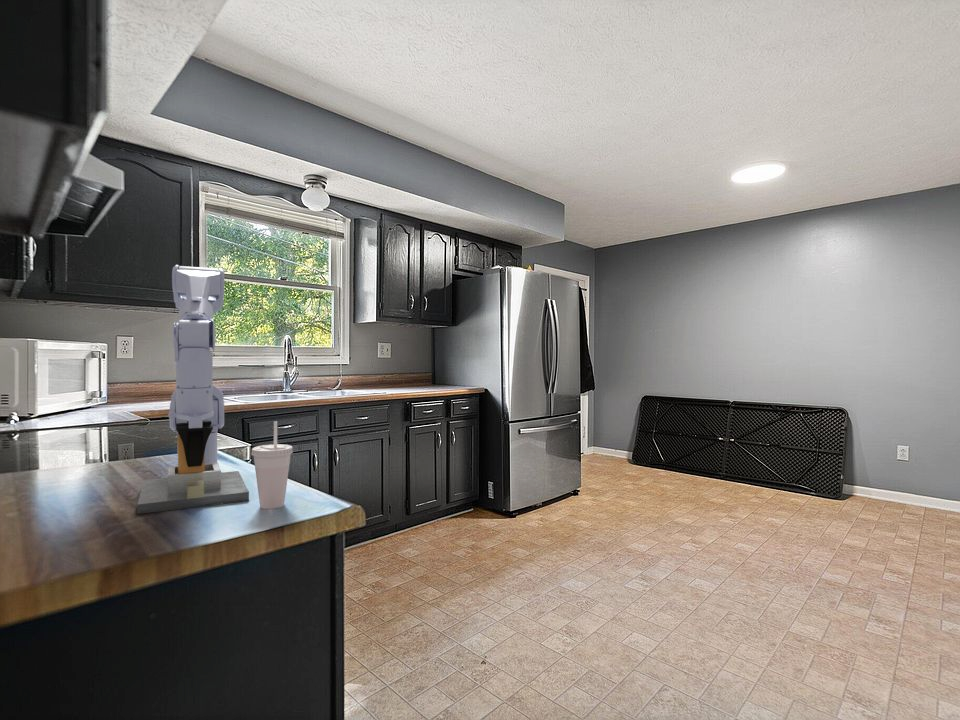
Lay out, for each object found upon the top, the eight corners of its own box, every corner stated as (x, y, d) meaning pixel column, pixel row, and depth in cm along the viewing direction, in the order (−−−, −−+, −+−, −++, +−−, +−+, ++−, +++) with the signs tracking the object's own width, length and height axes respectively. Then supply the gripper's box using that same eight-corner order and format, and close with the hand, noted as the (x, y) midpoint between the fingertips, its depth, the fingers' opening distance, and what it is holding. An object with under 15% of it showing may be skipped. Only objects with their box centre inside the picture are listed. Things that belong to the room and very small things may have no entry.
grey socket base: (143, 487, 98) (143, 463, 98) (238, 478, 106) (238, 456, 106) (137, 514, 82) (137, 485, 82) (248, 500, 90) (249, 474, 90)
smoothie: (278, 512, 83) (278, 424, 83) (242, 510, 85) (242, 423, 85) (300, 501, 90) (300, 419, 90) (266, 499, 91) (266, 418, 91)
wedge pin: (178, 478, 94) (177, 433, 94) (203, 475, 96) (202, 431, 96) (178, 483, 91) (177, 437, 91) (204, 480, 93) (203, 435, 93)
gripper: (168, 385, 98) (168, 458, 98) (167, 390, 85) (167, 474, 86) (211, 384, 101) (211, 455, 102) (216, 389, 89) (216, 469, 89)
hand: (194, 463), depth 94 cm, fingers closed on wedge pin, 4 cm apart
